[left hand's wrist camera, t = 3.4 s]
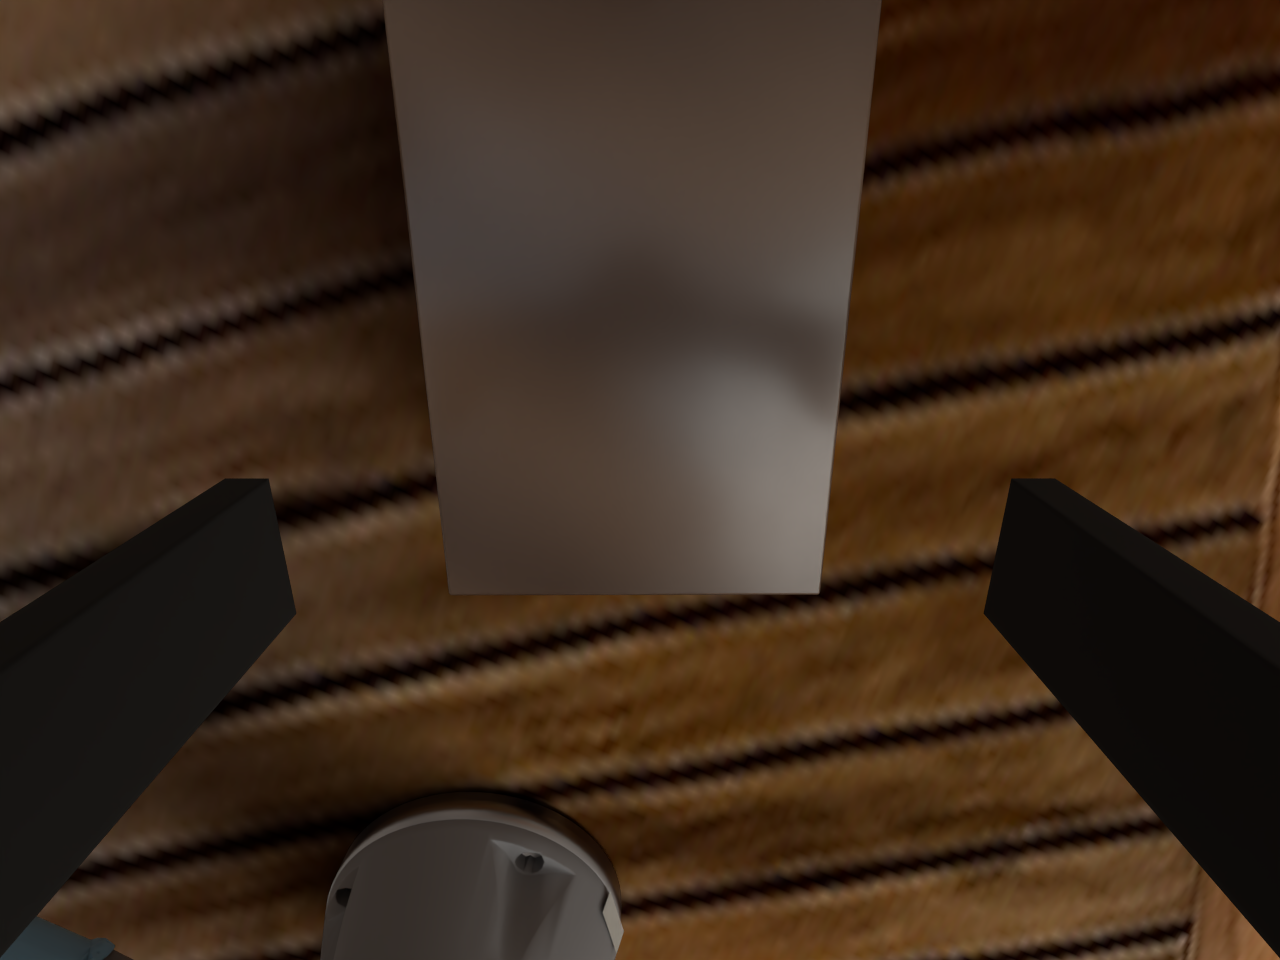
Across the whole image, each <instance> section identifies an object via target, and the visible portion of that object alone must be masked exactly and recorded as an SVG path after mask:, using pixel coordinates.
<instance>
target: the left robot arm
mask: <svg viewBox="0 0 1280 960" xmlns="http://www.w3.org/2000/svg"><path fill="white" fill-rule="evenodd" d="M295 614H296V610H295V605H294V600H293V595H292V590H291V585H290V580H289V576H288V571H287V566H286V561H285V556H284V551H283V546H282V542H281V537H280V532H279V527H278V522H277V517H276V512H275V508H274V503H273V498H272V493H271V488H270V483H269V479H224V480H222V481H221V482H219V483H218V484H216V485H214V486H213V487H211V488H210V489H208V490H207V491H205V492H203V493H202V494H200V495H199V496H197V497H196V498H194V499H192V500H191V501H189V502H188V503H186V504H185V505H183V506H182V507H180V508H178V509H177V510H175V511H174V512H172V513H171V514H169V515H167V516H166V517H164V518H163V519H161V520H160V521H158V522H156V523H155V524H153V525H152V526H150V527H149V528H147V529H146V530H144V531H142V532H141V533H139V534H138V535H136V536H135V537H133V538H131V539H130V540H128V541H127V542H125V543H124V544H122V545H120V546H119V547H117V548H116V549H114V550H113V551H111V552H110V553H108V554H106V555H105V556H103V557H102V558H100V559H99V560H97V561H95V562H94V563H92V564H91V565H89V566H88V567H86V568H84V569H83V570H81V571H80V572H78V573H77V574H75V575H74V576H72V577H70V578H69V579H67V580H66V581H64V582H63V583H61V584H59V585H58V586H56V587H55V588H53V589H52V590H50V591H48V592H47V593H45V594H44V595H42V596H41V597H39V598H38V599H36V600H34V601H33V602H31V603H30V604H28V605H27V606H25V607H23V608H22V609H20V610H19V611H17V612H16V613H14V614H12V615H11V616H9V617H8V618H6V619H5V620H3V621H2V622H0V960H133V959H131V958H129V957H127V956H125V955H123V954H121V953H119V952H117V951H115V950H113V949H114V948H115V945H114V944H113V943H111V942H110V941H109V940H107V939H106V938H96V939H93V940H90V939H88V938H85V937H83V936H81V935H78V934H76V933H74V932H71V931H69V930H67V929H65V928H62V927H60V926H58V925H55V924H53V923H51V922H48V921H46V920H44V919H42V918H39V917H37V915H38V913H39V912H40V911H41V910H42V909H43V908H44V906H45V905H46V904H47V903H48V902H49V901H50V900H51V898H52V897H53V896H54V895H55V894H56V893H57V891H58V890H59V889H60V888H61V887H62V886H63V884H64V883H65V882H66V881H67V880H68V879H69V877H70V876H71V875H72V874H73V873H74V872H75V870H76V869H77V868H78V867H79V866H80V865H81V863H82V862H83V861H84V860H85V859H86V858H87V856H88V855H89V854H90V853H91V852H92V851H93V849H94V848H95V847H96V846H97V845H98V844H99V842H100V841H101V840H102V839H103V838H104V837H105V836H106V834H107V833H108V832H109V831H110V830H111V829H112V827H113V826H114V825H115V824H116V823H117V822H118V820H119V819H120V818H121V817H122V816H123V815H124V813H125V812H126V811H127V810H128V809H129V808H130V806H131V805H132V804H133V803H134V802H135V801H136V799H137V798H138V797H139V796H140V795H141V794H142V792H143V791H144V790H145V789H146V788H147V787H148V785H149V784H150V783H151V782H152V781H153V780H154V778H155V777H156V776H157V775H158V774H159V773H160V772H161V770H162V769H163V768H164V767H165V766H166V765H167V763H168V762H169V761H170V760H171V759H172V758H173V756H174V755H175V754H176V753H177V752H178V751H179V749H180V748H181V747H182V746H183V745H184V744H185V742H186V741H187V740H188V739H189V738H190V737H191V735H192V734H193V733H194V732H195V731H196V730H197V728H198V727H199V726H200V725H201V724H202V723H203V721H204V720H205V719H206V718H207V717H208V716H209V714H210V713H211V712H212V711H213V710H214V709H215V708H216V706H217V705H218V704H219V703H220V702H221V701H222V699H223V698H224V697H225V696H226V695H227V694H228V692H229V691H230V690H231V689H232V688H233V687H234V685H235V684H236V683H237V682H238V681H239V680H240V678H241V677H242V676H243V675H244V674H245V673H246V671H247V670H248V669H249V668H250V667H251V666H252V664H253V663H254V662H255V661H256V660H257V659H258V657H259V656H260V655H261V654H262V653H263V652H264V651H265V649H266V648H267V647H268V646H269V645H270V644H271V642H272V641H273V640H274V639H275V638H276V637H277V635H278V634H279V633H280V632H281V631H282V630H283V628H284V627H285V626H286V625H287V624H288V623H289V621H290V620H291V619H292V618H293V617H294V616H295ZM984 614H985V616H986V617H987V618H988V619H989V620H990V621H991V623H992V624H993V625H994V626H995V627H996V628H997V630H998V631H999V632H1000V633H1001V634H1002V635H1003V637H1004V638H1005V639H1006V640H1007V641H1008V642H1009V644H1010V645H1011V646H1012V647H1013V648H1014V649H1015V651H1016V652H1017V653H1018V654H1019V655H1020V656H1021V657H1022V659H1023V660H1024V661H1025V662H1026V663H1027V664H1028V666H1029V667H1030V668H1031V669H1032V670H1033V671H1034V673H1035V674H1036V675H1037V676H1038V677H1039V678H1040V680H1041V681H1042V682H1043V683H1044V684H1045V685H1046V687H1047V688H1048V689H1049V690H1050V691H1051V692H1052V694H1053V695H1054V696H1055V697H1056V698H1057V699H1058V701H1059V702H1060V703H1061V704H1062V705H1063V706H1064V708H1065V709H1066V710H1067V711H1068V712H1069V713H1070V715H1071V716H1072V717H1073V718H1074V719H1075V720H1076V721H1077V723H1078V724H1079V725H1080V726H1081V727H1082V728H1083V730H1084V731H1085V732H1086V733H1087V734H1088V735H1089V737H1090V738H1091V739H1092V740H1093V741H1094V742H1095V744H1096V745H1097V746H1098V747H1099V748H1100V749H1101V751H1102V752H1103V753H1104V754H1105V755H1106V756H1107V758H1108V759H1109V760H1110V761H1111V762H1112V763H1113V765H1114V766H1115V767H1116V768H1117V769H1118V770H1119V772H1120V773H1121V774H1122V775H1123V776H1124V777H1125V778H1126V780H1127V781H1128V782H1129V783H1130V784H1131V785H1132V787H1133V788H1134V789H1135V790H1136V791H1137V792H1138V794H1139V795H1140V796H1141V797H1142V798H1143V799H1144V801H1145V802H1146V803H1147V804H1148V805H1149V806H1150V808H1151V809H1152V810H1153V811H1154V812H1155V813H1156V815H1157V816H1158V817H1159V818H1160V819H1161V820H1162V822H1163V823H1164V824H1165V825H1166V826H1167V827H1168V829H1169V830H1170V831H1171V832H1172V833H1173V834H1174V836H1175V837H1176V838H1177V839H1178V840H1179V841H1180V842H1181V844H1182V845H1183V846H1184V847H1185V848H1186V849H1187V851H1188V852H1189V853H1190V854H1191V855H1192V856H1193V858H1194V859H1195V860H1196V861H1197V862H1198V863H1199V865H1200V866H1201V867H1202V868H1203V869H1204V870H1205V872H1206V873H1207V874H1208V875H1209V876H1210V877H1211V879H1212V880H1213V881H1214V882H1215V883H1216V884H1217V886H1218V887H1219V888H1220V889H1221V890H1222V891H1223V893H1224V894H1225V895H1226V896H1227V897H1228V898H1229V900H1230V901H1231V902H1232V903H1233V904H1234V905H1235V906H1236V908H1237V909H1238V910H1239V911H1240V912H1241V913H1242V915H1243V916H1244V917H1245V918H1246V919H1247V920H1248V922H1249V923H1250V924H1251V925H1252V926H1253V927H1254V929H1255V930H1256V931H1257V932H1258V933H1259V934H1260V936H1261V937H1262V938H1263V939H1264V940H1265V941H1266V943H1267V944H1268V945H1269V946H1270V947H1271V948H1272V950H1273V951H1274V952H1275V953H1276V954H1277V955H1278V957H1279V958H1280V622H1278V621H1277V620H1275V619H1274V618H1272V617H1271V616H1269V615H1267V614H1266V613H1264V612H1263V611H1261V610H1260V609H1258V608H1257V607H1255V606H1253V605H1252V604H1250V603H1249V602H1247V601H1246V600H1244V599H1242V598H1241V597H1239V596H1238V595H1236V594H1235V593H1233V592H1232V591H1230V590H1228V589H1227V588H1225V587H1224V586H1222V585H1221V584H1219V583H1217V582H1216V581H1214V580H1213V579H1211V578H1210V577H1208V576H1206V575H1205V574H1203V573H1202V572H1200V571H1199V570H1197V569H1196V568H1194V567H1192V566H1191V565H1189V564H1188V563H1186V562H1185V561H1183V560H1181V559H1180V558H1178V557H1177V556H1175V555H1174V554H1172V553H1170V552H1169V551H1167V550H1166V549H1164V548H1163V547H1161V546H1160V545H1158V544H1156V543H1155V542H1153V541H1152V540H1150V539H1149V538H1147V537H1145V536H1144V535H1142V534H1141V533H1139V532H1138V531H1136V530H1134V529H1133V528H1131V527H1130V526H1128V525H1127V524H1125V523H1124V522H1122V521H1120V520H1119V519H1117V518H1116V517H1114V516H1113V515H1111V514H1109V513H1108V512H1106V511H1105V510H1103V509H1102V508H1100V507H1098V506H1097V505H1095V504H1094V503H1092V502H1091V501H1089V500H1088V499H1086V498H1084V497H1083V496H1081V495H1080V494H1078V493H1077V492H1075V491H1073V490H1072V489H1070V488H1069V487H1067V486H1066V485H1064V484H1062V483H1061V482H1059V481H1058V480H1056V479H1011V483H1010V488H1009V493H1008V498H1007V503H1006V508H1005V512H1004V517H1003V522H1002V527H1001V532H1000V537H999V542H998V546H997V551H996V556H995V561H994V566H993V571H992V576H991V580H990V585H989V590H988V595H987V600H986V605H985V610H984ZM623 932H624V931H623V928H622V925H621V892H620V886H619V882H618V878H617V875H616V872H615V870H614V868H613V866H612V864H611V862H610V860H609V859H608V857H607V855H606V854H605V853H604V851H603V850H602V849H601V847H600V846H599V845H598V844H597V843H596V842H595V841H594V840H593V839H592V837H591V836H589V835H588V834H587V833H586V832H585V831H584V830H583V829H581V828H580V827H579V826H577V825H576V824H574V823H573V822H572V821H570V820H569V819H567V818H565V817H563V816H562V815H560V814H558V813H556V812H554V811H552V810H550V809H548V808H546V807H543V806H541V805H538V804H536V803H533V802H530V801H526V800H523V799H520V798H516V797H511V796H507V795H501V794H494V793H484V792H454V793H444V794H438V795H432V796H428V797H424V798H420V799H416V800H413V801H410V802H407V803H405V804H402V805H400V806H398V807H396V808H393V809H392V810H390V811H388V812H386V813H385V814H383V815H381V816H380V817H378V818H377V819H376V820H374V821H373V822H371V823H370V824H369V825H368V826H367V827H366V828H365V829H364V830H363V831H362V832H361V833H360V834H359V835H358V836H357V837H356V839H355V840H354V841H353V843H352V844H351V846H350V847H349V849H348V851H347V853H346V855H345V857H344V859H343V862H342V864H341V866H340V868H339V870H338V873H337V875H336V877H335V879H334V881H333V883H332V886H331V889H330V892H329V895H328V900H327V907H326V912H325V922H324V930H323V940H322V949H321V959H320V960H615V956H616V953H617V951H618V948H619V944H620V941H621V938H622V935H623Z"/></svg>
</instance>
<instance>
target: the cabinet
mask: <svg viewBox="0 0 1280 960" xmlns="http://www.w3.org/2000/svg"><path fill="white" fill-rule="evenodd" d="M881 3H882V0H383V9H384V18H385V27H386V36H387V45H388V54H389V63H390V71H391V80H392V89H393V98H394V107H395V116H396V125H397V134H398V143H399V152H400V160H401V169H402V178H403V187H404V196H405V205H406V214H407V223H408V232H409V241H410V249H411V258H412V267H413V276H414V285H415V294H416V303H417V312H418V321H419V329H420V338H421V347H422V356H423V365H424V374H425V383H426V392H427V401H428V410H429V418H430V427H431V436H432V445H433V454H434V463H435V472H436V481H437V490H438V499H439V507H440V516H441V525H442V534H443V543H444V552H445V561H446V570H447V579H448V588H449V593H450V595H788V594H819V593H820V586H821V576H822V567H823V557H824V548H825V538H826V529H827V519H828V509H829V500H830V490H831V481H832V471H833V462H834V452H835V443H836V433H837V423H838V414H839V404H840V395H841V385H842V376H843V366H844V357H845V347H846V337H847V328H848V318H849V309H850V299H851V290H852V280H853V270H854V261H855V251H856V242H857V232H858V223H859V213H860V204H861V194H862V184H863V175H864V165H865V156H866V146H867V137H868V127H869V118H870V108H871V98H872V89H873V79H874V70H875V60H876V51H877V41H878V31H879V22H880V12H881Z"/></svg>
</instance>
